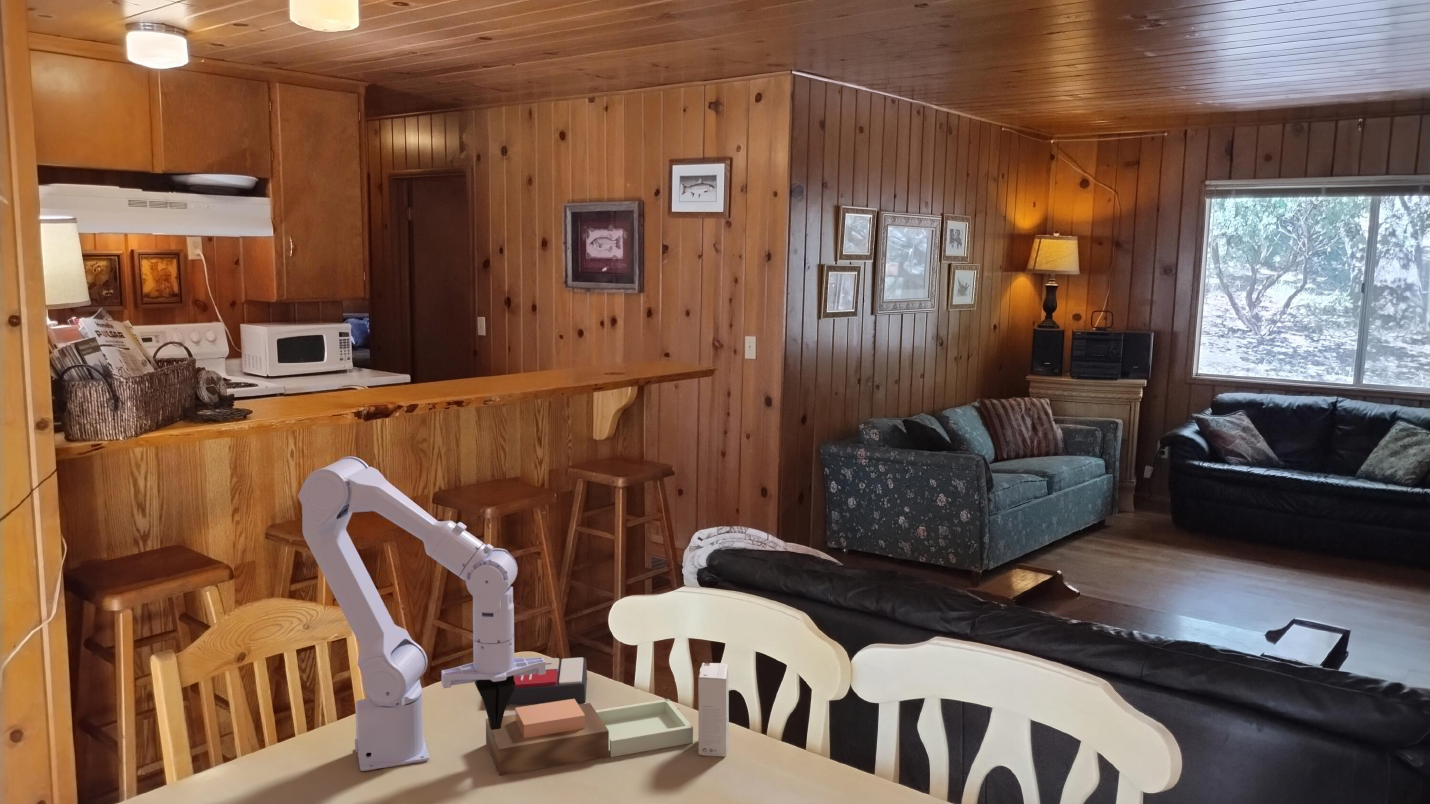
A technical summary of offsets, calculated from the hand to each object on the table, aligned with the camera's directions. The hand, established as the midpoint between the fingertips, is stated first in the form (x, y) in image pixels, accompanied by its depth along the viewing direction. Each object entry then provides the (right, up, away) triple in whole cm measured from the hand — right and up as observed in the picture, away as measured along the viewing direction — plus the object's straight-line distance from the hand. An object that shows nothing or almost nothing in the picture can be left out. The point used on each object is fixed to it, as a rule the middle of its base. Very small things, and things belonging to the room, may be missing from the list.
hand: (494, 726), depth 152 cm
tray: (+20, -4, +9) cm, 22 cm away
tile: (+7, -1, +3) cm, 8 cm away
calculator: (+3, -2, +24) cm, 25 cm away
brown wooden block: (+7, -5, +4) cm, 9 cm away
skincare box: (+32, -5, +6) cm, 32 cm away
